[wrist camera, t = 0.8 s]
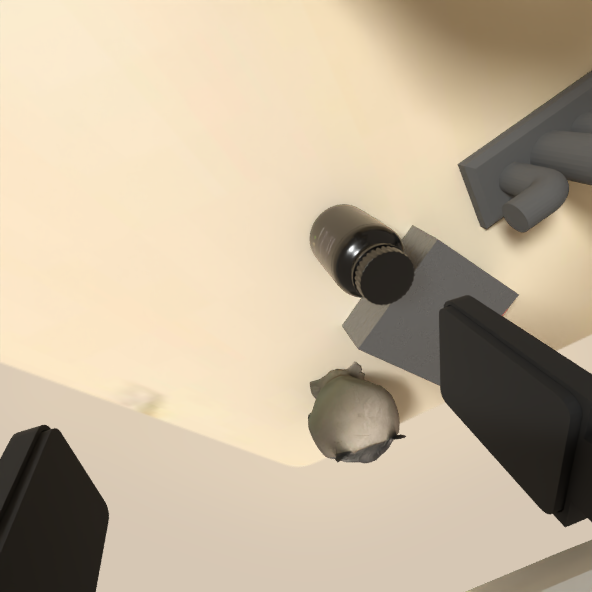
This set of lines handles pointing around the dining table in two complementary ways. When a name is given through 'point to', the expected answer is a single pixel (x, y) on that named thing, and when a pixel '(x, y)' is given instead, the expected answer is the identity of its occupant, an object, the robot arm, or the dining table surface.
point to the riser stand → (423, 307)
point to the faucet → (534, 161)
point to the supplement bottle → (362, 254)
